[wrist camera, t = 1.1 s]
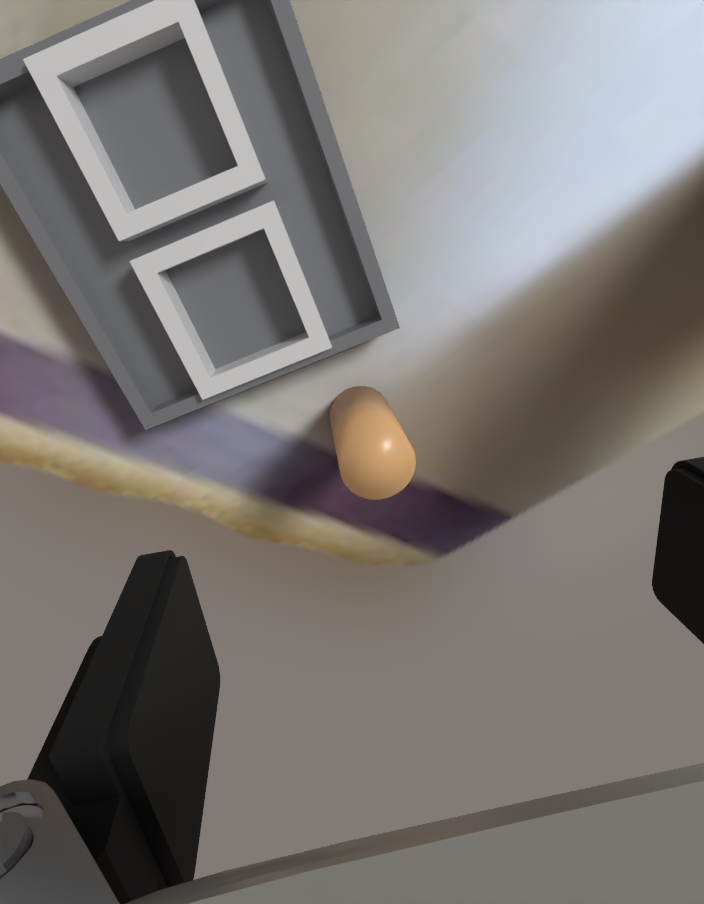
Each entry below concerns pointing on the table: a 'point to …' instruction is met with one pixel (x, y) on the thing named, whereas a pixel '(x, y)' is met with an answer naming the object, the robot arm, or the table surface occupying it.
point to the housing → (190, 197)
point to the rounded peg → (370, 444)
